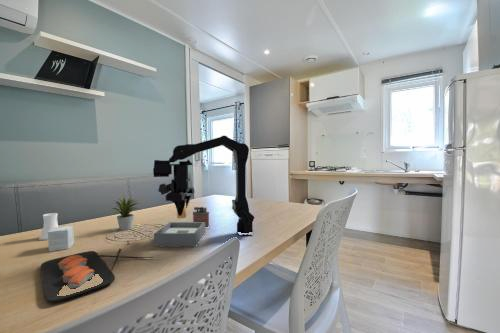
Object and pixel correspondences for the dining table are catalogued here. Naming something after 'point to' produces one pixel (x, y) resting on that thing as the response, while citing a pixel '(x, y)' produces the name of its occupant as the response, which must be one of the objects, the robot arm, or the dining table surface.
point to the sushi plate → (75, 273)
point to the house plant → (125, 213)
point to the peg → (182, 213)
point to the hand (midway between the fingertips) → (181, 214)
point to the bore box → (179, 234)
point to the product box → (60, 238)
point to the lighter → (201, 215)
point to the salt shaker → (48, 224)
